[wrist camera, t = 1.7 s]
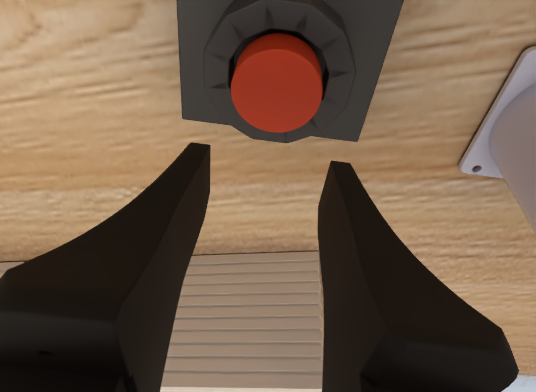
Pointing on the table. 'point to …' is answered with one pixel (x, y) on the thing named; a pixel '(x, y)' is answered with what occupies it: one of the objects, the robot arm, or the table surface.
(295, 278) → the long wooden block
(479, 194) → the table surface
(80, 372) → the robot arm
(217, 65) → the button block
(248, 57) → the button
